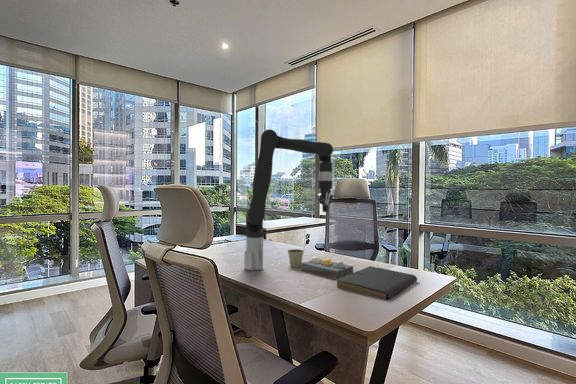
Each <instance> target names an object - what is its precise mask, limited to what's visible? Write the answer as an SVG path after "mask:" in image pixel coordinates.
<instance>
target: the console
mask: <svg viewBox="0 0 576 384" xmlns="http://www.w3.org/2000/svg"><path fill="white" fill-rule="evenodd" d="M335 262H336V261H335ZM335 262H334V261H331V266H324V265H323V259H320V258H319V263H317V264H315V263H312V259H311V260H307V261H305V262H302V263H301V267H300V268H301V270H300V271H302V272H305V273H309V274H313V275H318V276H321V277H327V278H331V279H334V280H337V279H340V278H342V277H345V276H347V275H350V274H352V273H354V266H353V265H350V264H349V265H348V264H345V263H343V268H342V269H338V268H335Z"/></svg>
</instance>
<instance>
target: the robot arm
mask: <svg viewBox="0 0 576 384" xmlns="http://www.w3.org/2000/svg"><path fill="white" fill-rule="evenodd" d="M259 146H260V147H259V153H258V158H257V162H256V164H255V168H254V169H255V170H254V172H253V173H254V174H253V178H252V179H253V180H252V196H251V197H252V198H251V202H250V206H249V208H248V209H247V211H246V213H245V232H246V233H245V239H246V241H245V242H246V243H245V251H244V264H243V265H244V269H245V270H248V271H252V272H253V271H261V270H263V269H264V219H265V213H266V202H267V196H268V193H269V190H270V186H271V185H270V184H271V180H272V176H273V175H272V174H273V160H274V159H273V157H274V153H275V149H278V150H279V149H281V150H287V151H294V152H298V153H304V154H308V155H309V154H311V155H318V161H319V166H318V167H319V171H318V189H319V192H318V194H316V198H317V199H318V202H319V204H320V205H321V206H322V212H323V213H327V212H328V211H329V208H328V206H329V204H331V202H332V200H333V198H334V194H332V191H331V190H332V189H333V163H332V154H333V152H334V147H333V146H332V144H331V143H329V142H325V141H324V142H323V141H313V140H308V139H303V138H302V139H301V138H287V137H282V136H279V135H278V134H277V132H276V131H275V130H273V129H270V128H269V129H266V130H264V131H263V132H262V133H261V136H260V145H259Z"/></svg>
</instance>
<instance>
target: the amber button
mask: <svg viewBox="0 0 576 384" xmlns="http://www.w3.org/2000/svg"><path fill="white" fill-rule="evenodd" d="M322 260H323V265H324V266H331V262H332V259H331V258H323V259H322Z"/></svg>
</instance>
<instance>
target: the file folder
mask: <svg viewBox="0 0 576 384" xmlns="http://www.w3.org/2000/svg"><path fill="white" fill-rule="evenodd" d="M417 281H418V277H417V276H416V275H414V274H410V273H406V272H401V271H395V270H392V269H386V268H382V267H376V266H368V267H364V268H363V269H360V270H357V271H355V272H353V273H352V274H350V275H347V276H345V277H342V278H340V279H336V288H339V289H343V290H347V291H351V292H354V293H359V294H362V295H363V294H364V295H367V296H371V297H375V298H377V299H382V300H387V298H388V300H390V299H392V298H393V297H394V296H396V295H398V294H399V293H401V292H402V291H404V290H405V289H407V288H408V287H410V286H412V285H413V284H414V282H415V283H416V282H417ZM411 284H412V285H411Z"/></svg>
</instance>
